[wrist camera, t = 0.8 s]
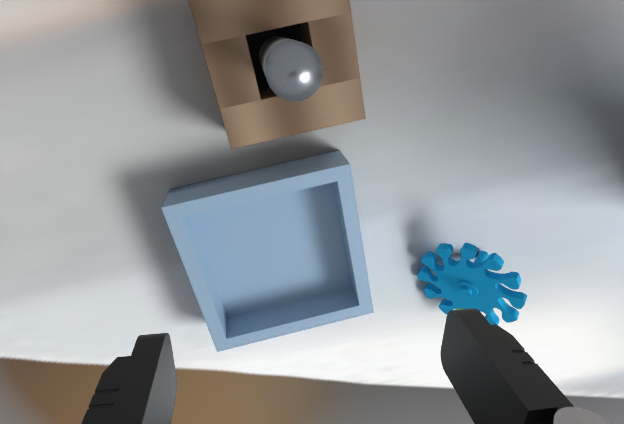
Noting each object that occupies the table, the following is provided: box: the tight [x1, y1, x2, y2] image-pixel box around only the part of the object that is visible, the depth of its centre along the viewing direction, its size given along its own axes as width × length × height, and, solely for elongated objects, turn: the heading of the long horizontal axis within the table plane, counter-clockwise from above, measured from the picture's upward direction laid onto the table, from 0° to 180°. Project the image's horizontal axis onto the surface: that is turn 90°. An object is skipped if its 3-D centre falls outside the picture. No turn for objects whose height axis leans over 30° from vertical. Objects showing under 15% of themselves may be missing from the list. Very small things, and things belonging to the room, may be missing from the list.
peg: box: [259, 36, 323, 102], centre depth 27 cm, size 3×3×12 cm
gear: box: [418, 243, 527, 325], centre depth 41 cm, size 11×6×10 cm
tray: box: [161, 150, 373, 352], centre depth 37 cm, size 15×15×4 cm
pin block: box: [189, 0, 366, 149], centre depth 30 cm, size 10×10×5 cm
